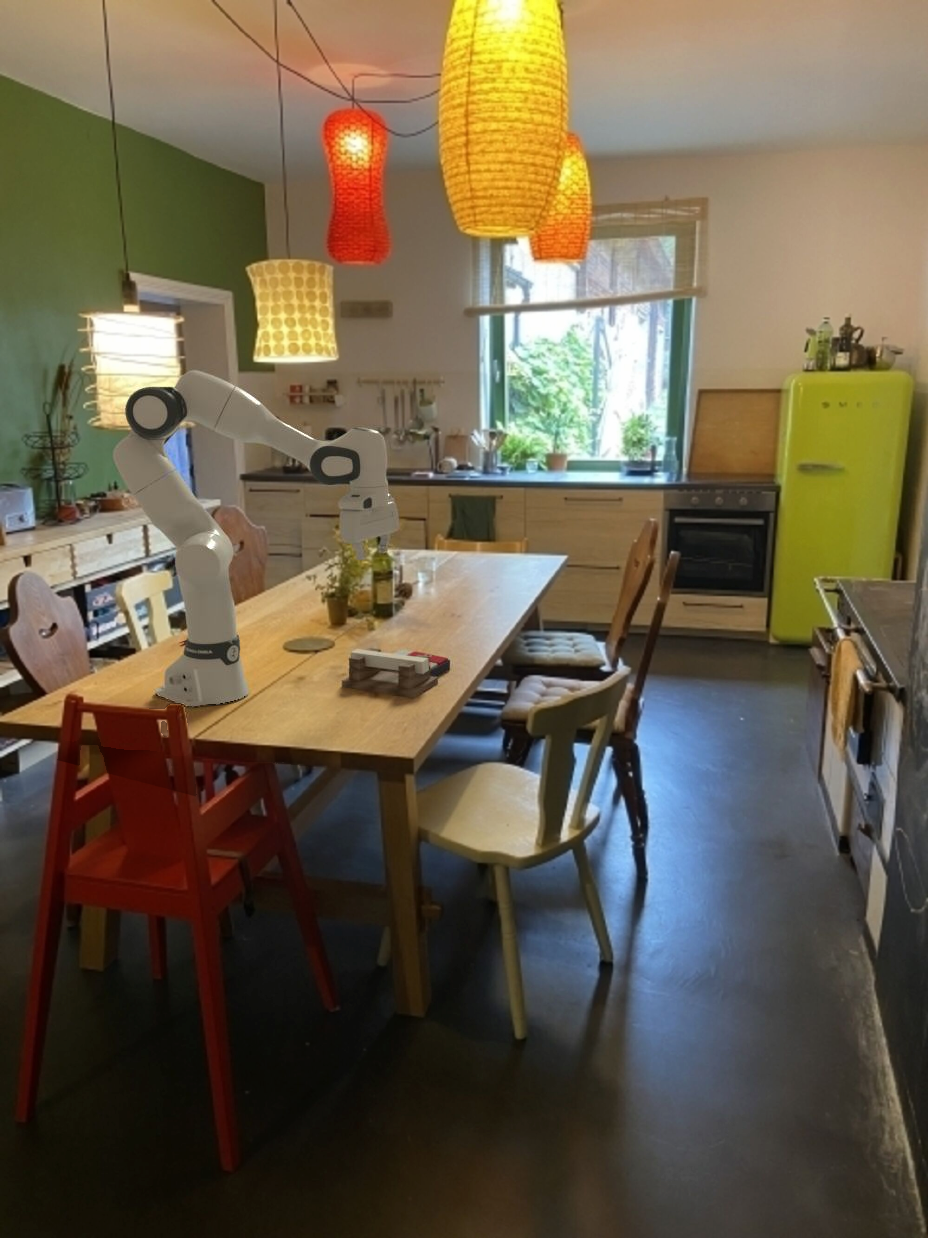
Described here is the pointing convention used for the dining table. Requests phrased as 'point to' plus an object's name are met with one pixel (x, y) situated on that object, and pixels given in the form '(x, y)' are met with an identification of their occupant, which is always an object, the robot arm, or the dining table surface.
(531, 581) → the dining table surface
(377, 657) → the clay strip
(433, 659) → the calculator
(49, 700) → the dining table surface
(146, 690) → the dining table surface
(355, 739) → the dining table surface
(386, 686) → the rack
